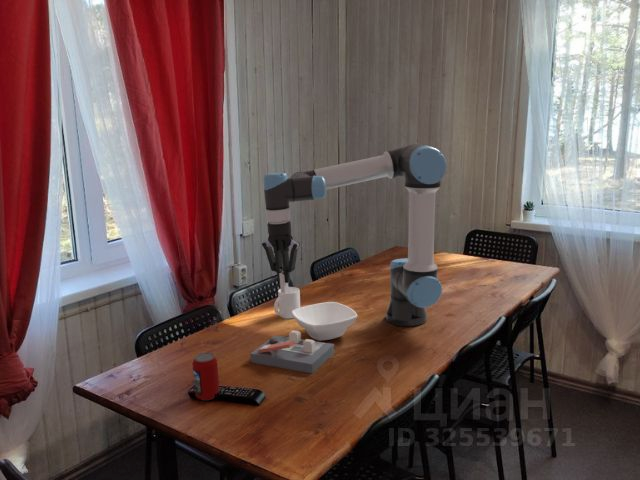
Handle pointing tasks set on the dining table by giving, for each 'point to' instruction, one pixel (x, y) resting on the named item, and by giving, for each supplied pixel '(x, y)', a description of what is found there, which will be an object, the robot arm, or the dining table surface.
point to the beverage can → (205, 376)
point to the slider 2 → (309, 345)
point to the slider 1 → (295, 336)
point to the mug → (287, 302)
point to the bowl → (325, 319)
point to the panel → (293, 355)
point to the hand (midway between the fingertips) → (284, 291)
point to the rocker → (276, 346)
